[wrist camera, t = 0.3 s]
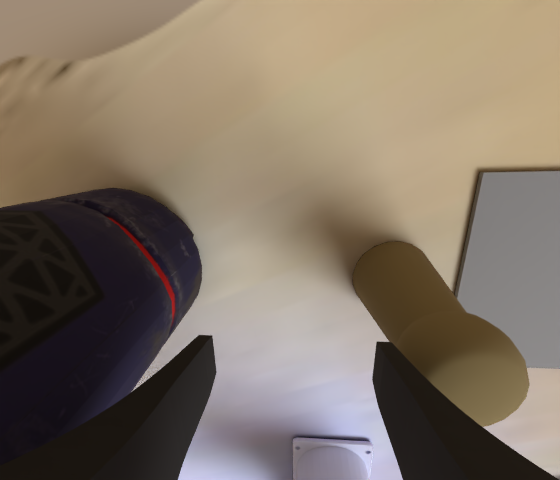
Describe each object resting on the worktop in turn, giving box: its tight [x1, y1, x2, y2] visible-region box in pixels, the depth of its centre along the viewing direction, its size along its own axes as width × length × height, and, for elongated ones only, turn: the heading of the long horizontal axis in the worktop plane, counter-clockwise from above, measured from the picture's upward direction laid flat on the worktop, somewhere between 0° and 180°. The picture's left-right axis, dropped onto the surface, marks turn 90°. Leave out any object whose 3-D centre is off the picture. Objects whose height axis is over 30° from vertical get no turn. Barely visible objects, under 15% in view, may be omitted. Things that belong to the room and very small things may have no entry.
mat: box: [455, 171, 560, 369], centre depth 20 cm, size 16×12×1 cm
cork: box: [353, 242, 529, 427], centre depth 16 cm, size 6×6×11 cm
